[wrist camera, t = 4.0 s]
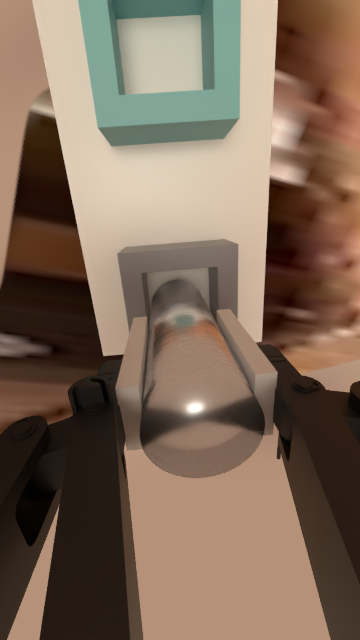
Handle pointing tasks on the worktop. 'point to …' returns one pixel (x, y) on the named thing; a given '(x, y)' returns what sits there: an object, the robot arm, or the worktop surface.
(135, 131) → the socket
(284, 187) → the worktop surface
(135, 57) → the mount board
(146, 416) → the lock pin
